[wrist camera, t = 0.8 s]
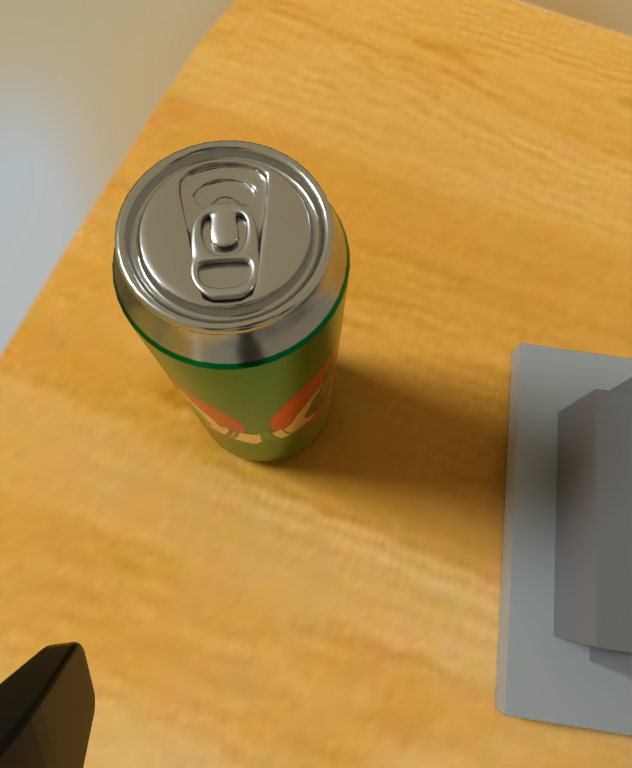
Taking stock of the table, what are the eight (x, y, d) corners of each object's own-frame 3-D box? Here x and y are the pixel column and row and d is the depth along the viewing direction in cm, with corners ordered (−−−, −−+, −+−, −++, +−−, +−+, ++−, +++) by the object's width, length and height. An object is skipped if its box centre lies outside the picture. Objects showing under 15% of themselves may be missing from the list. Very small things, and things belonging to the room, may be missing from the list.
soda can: (325, 336, 24) (341, 117, 12) (336, 458, 22) (367, 339, 11) (200, 345, 23) (98, 130, 12) (203, 469, 22) (88, 359, 10)
